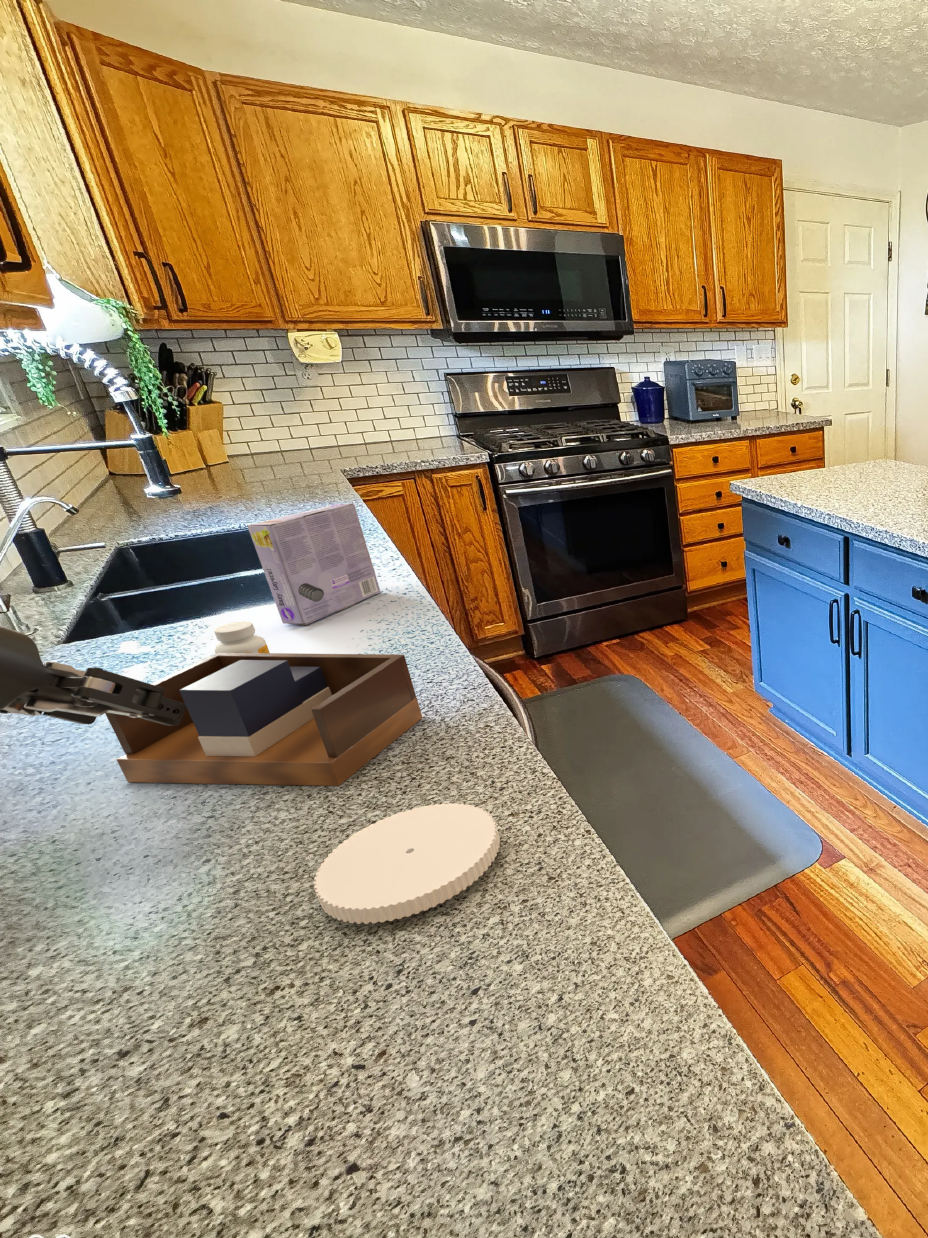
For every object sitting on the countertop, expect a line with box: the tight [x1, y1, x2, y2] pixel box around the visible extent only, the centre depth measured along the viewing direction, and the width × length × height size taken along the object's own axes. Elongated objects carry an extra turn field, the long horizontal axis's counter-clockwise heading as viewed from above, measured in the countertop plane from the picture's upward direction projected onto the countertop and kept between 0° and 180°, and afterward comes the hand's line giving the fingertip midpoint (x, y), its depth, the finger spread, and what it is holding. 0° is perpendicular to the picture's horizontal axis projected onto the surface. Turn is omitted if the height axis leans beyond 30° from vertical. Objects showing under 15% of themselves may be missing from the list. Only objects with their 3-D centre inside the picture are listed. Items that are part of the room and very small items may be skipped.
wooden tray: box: [104, 652, 423, 787], centre depth 81 cm, size 24×15×9 cm, turn 88°
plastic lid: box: [313, 802, 501, 925], centre depth 62 cm, size 14×14×2 cm
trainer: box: [179, 660, 332, 757], centre depth 80 cm, size 12×6×8 cm, turn 178°
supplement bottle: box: [213, 620, 270, 654], centre depth 95 cm, size 5×5×10 cm
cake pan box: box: [247, 502, 381, 626], centre depth 124 cm, size 19×5×18 cm, turn 174°
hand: (136, 714), depth 66 cm, fingers open, 8 cm apart
